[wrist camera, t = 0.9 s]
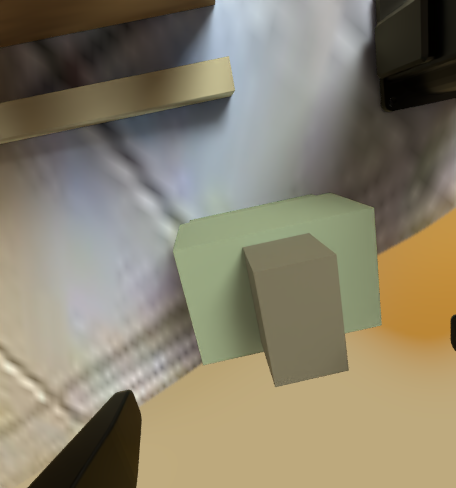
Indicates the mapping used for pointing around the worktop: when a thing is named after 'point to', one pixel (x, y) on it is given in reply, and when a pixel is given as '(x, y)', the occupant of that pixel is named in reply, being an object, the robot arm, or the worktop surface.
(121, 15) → the wooden board
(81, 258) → the worktop surface
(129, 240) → the worktop surface
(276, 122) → the worktop surface
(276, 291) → the pale green blocky piece
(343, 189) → the worktop surface
